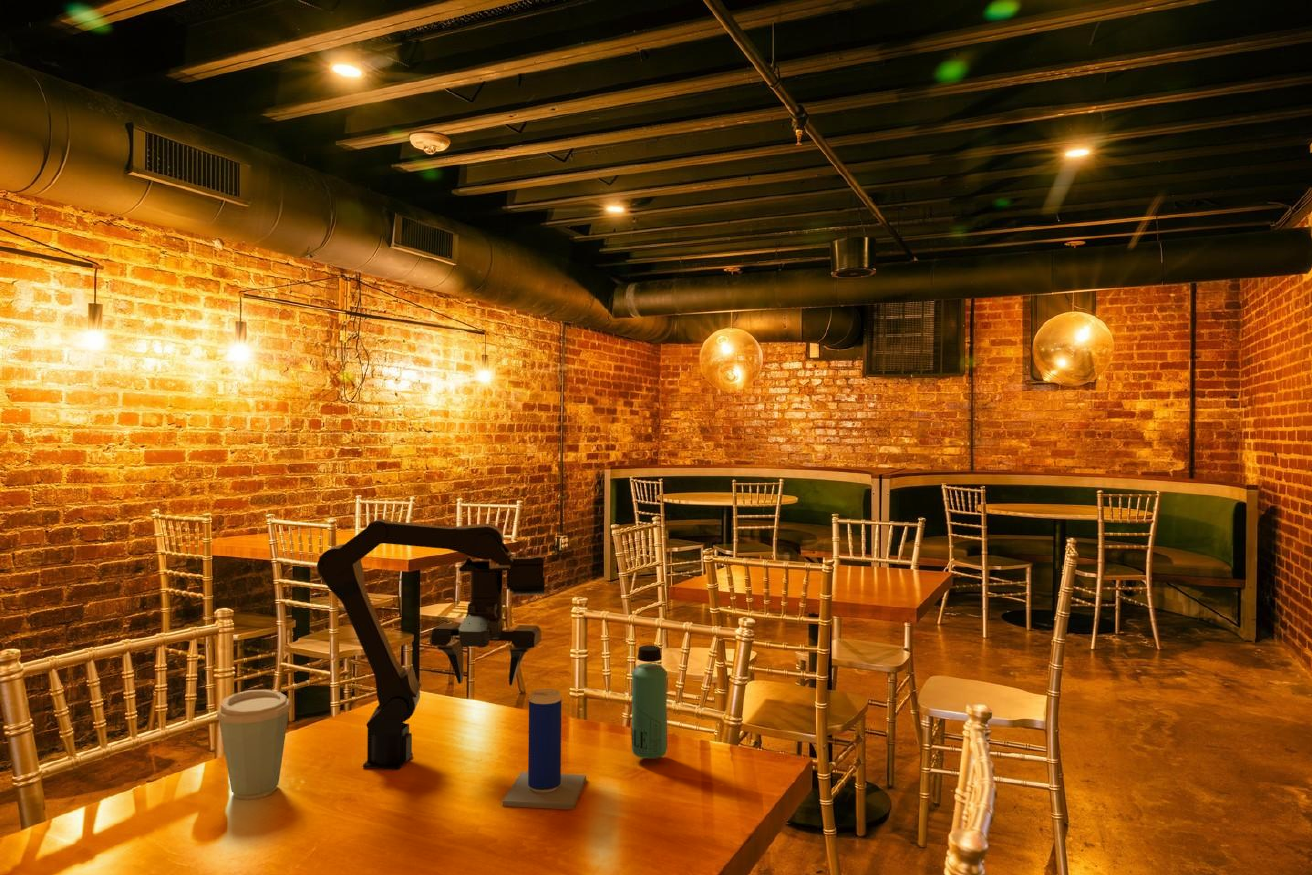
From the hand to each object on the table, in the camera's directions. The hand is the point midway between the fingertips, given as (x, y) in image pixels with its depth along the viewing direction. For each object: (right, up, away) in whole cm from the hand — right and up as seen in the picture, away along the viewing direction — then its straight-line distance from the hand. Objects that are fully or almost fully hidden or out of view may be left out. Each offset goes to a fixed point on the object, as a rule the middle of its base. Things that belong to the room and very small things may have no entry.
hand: (485, 683), depth 144 cm
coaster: (+13, -13, -14) cm, 23 cm away
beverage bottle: (+29, -13, -1) cm, 32 cm away
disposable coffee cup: (-34, -13, -15) cm, 39 cm away
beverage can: (+12, -12, -14) cm, 23 cm away
